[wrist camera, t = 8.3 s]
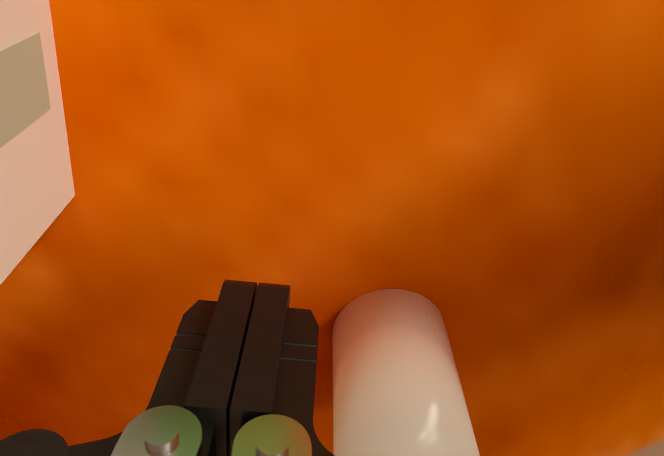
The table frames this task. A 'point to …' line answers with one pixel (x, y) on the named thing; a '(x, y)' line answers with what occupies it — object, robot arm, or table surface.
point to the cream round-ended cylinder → (396, 380)
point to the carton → (30, 130)
